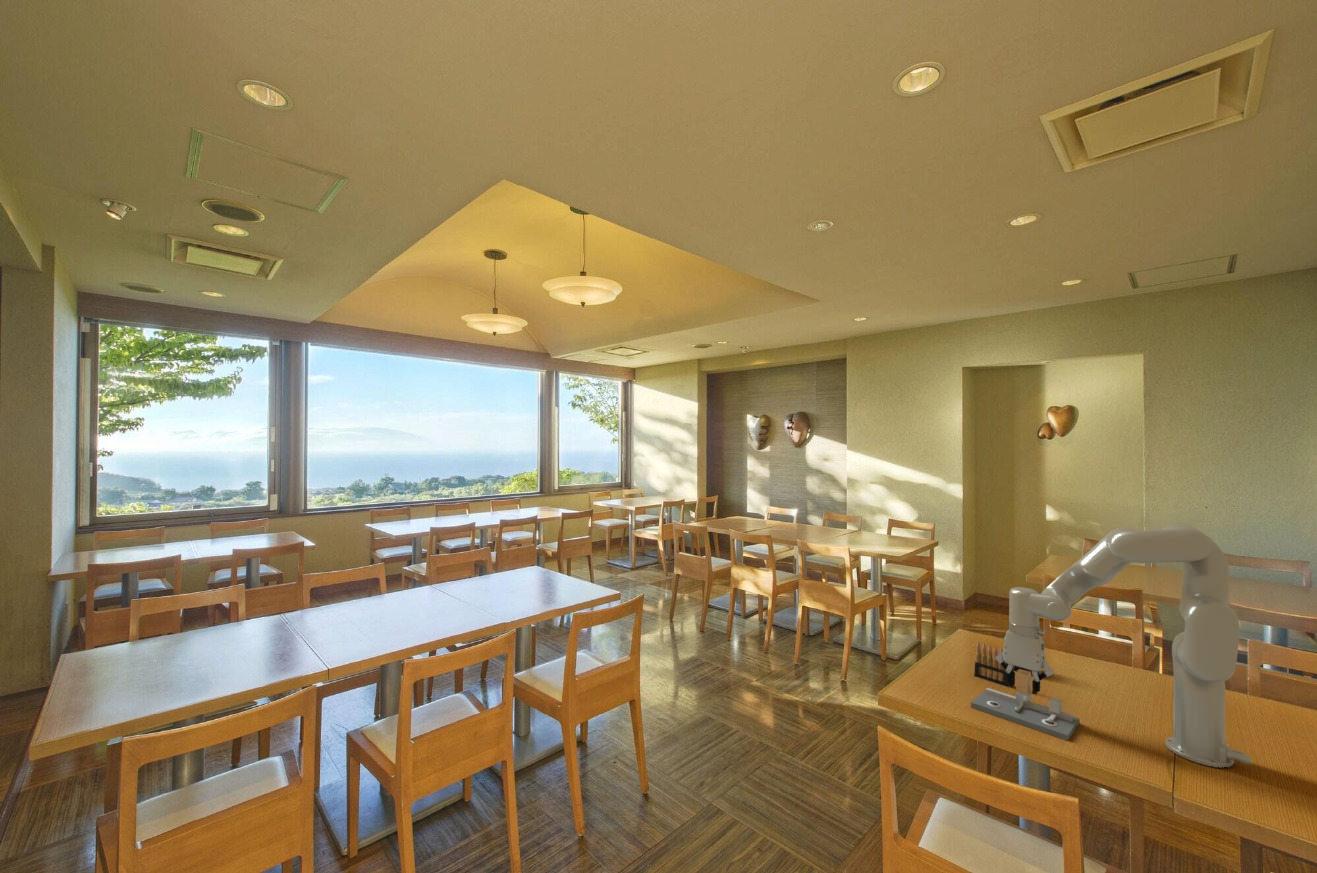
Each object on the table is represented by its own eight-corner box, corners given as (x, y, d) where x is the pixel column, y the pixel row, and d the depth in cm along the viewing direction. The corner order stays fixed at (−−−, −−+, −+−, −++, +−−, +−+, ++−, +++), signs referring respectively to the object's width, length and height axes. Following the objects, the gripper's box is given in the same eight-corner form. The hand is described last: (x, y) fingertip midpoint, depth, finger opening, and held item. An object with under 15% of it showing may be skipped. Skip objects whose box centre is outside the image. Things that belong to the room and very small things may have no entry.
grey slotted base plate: (1079, 723, 155) (1079, 702, 155) (1067, 740, 145) (1067, 718, 145) (986, 693, 173) (986, 674, 173) (970, 707, 163) (971, 687, 163)
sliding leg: (1030, 704, 162) (1031, 671, 162) (1022, 713, 156) (1022, 680, 156) (1019, 700, 164) (1019, 668, 165) (1010, 710, 159) (1010, 676, 159)
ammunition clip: (1011, 685, 179) (1011, 649, 179) (1009, 687, 177) (1009, 651, 177) (976, 674, 187) (976, 640, 187) (974, 676, 186) (974, 641, 186)
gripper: (1061, 634, 158) (1061, 695, 158) (996, 619, 171) (995, 676, 171) (1054, 640, 153) (1054, 703, 153) (988, 624, 166) (987, 683, 166)
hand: (1023, 688), depth 162 cm, fingers open, 5 cm apart
